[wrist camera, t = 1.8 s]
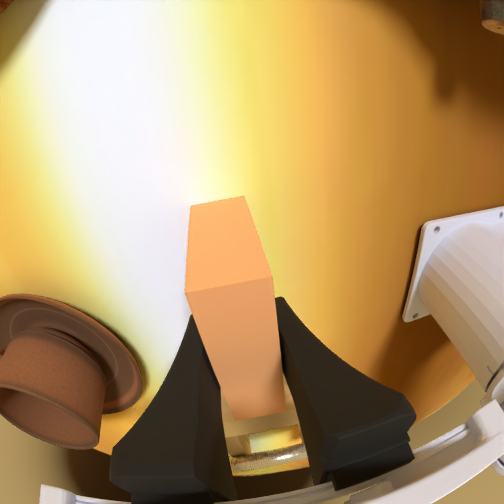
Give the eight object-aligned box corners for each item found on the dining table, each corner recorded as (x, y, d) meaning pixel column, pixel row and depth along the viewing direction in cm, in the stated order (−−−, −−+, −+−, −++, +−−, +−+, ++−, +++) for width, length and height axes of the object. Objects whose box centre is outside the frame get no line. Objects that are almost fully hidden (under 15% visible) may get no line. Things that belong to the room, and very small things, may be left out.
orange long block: (244, 195, 13) (272, 275, 8) (263, 323, 17) (286, 411, 12) (190, 206, 13) (184, 292, 8) (223, 331, 17) (235, 420, 12)
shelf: (312, 353, 20) (336, 418, 15) (309, 422, 26) (322, 467, 22) (206, 374, 19) (212, 443, 15) (236, 436, 26) (243, 483, 21)
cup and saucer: (35, 388, 19) (20, 445, 14) (-31, 278, 13) (-74, 342, 8) (160, 397, 21) (159, 467, 16) (119, 273, 14) (91, 369, 9)
